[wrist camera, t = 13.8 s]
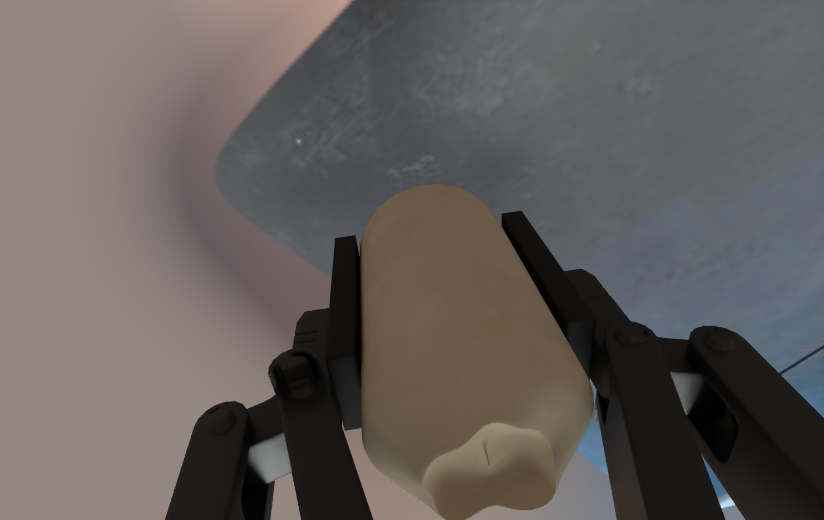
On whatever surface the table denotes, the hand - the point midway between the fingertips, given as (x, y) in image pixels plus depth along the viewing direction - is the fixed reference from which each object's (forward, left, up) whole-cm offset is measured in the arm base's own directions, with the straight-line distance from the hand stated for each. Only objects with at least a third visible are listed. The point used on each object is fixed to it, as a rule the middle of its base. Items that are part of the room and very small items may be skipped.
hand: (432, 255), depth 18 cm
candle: (0, 0, -1) cm, 1 cm away
